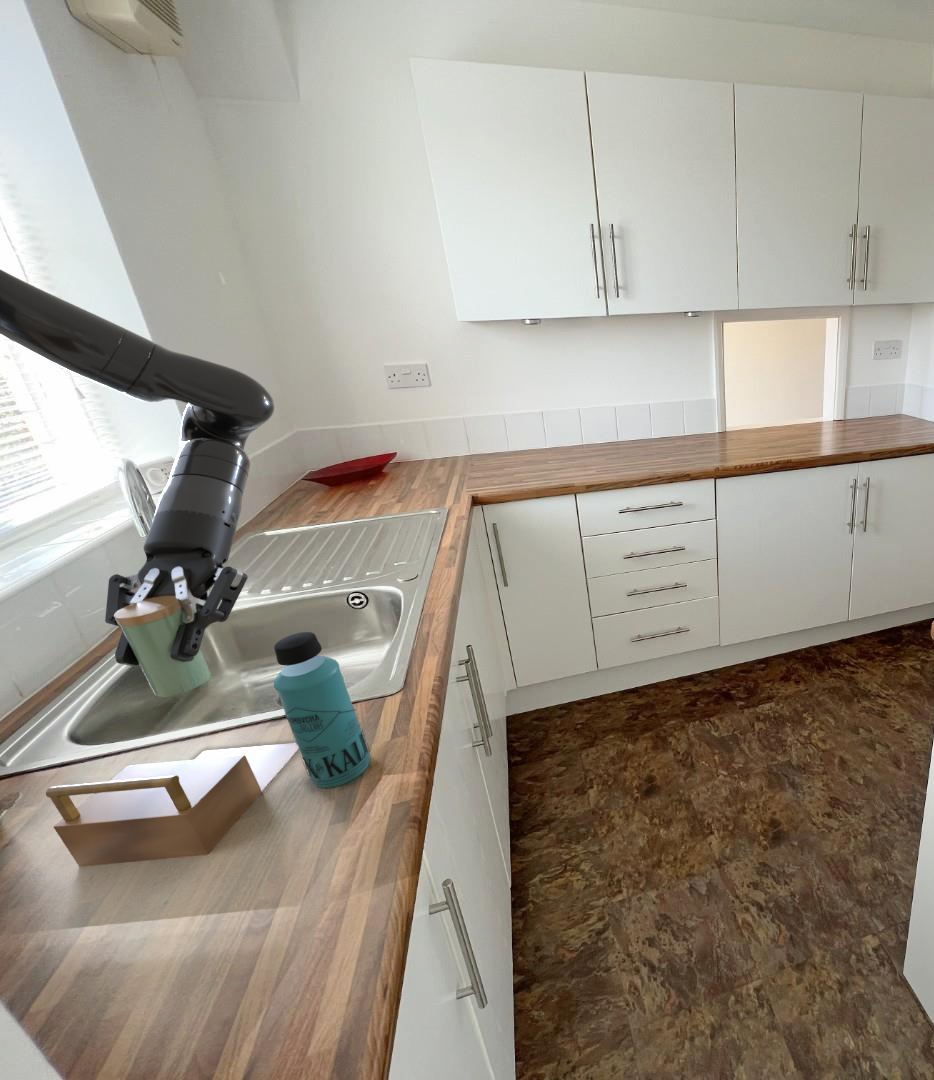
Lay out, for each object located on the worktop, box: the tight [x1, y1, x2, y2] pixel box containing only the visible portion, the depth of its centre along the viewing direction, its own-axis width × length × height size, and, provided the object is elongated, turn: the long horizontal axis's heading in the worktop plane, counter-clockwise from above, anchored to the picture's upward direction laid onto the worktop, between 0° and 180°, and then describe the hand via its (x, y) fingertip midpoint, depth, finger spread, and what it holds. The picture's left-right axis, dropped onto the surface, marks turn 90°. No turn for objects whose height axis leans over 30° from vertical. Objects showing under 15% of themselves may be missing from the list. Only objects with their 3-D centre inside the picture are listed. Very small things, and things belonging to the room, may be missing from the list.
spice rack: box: [45, 742, 300, 868], centre depth 67 cm, size 13×17×11 cm
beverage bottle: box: [273, 631, 372, 789], centre depth 68 cm, size 6×7×20 cm
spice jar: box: [114, 595, 212, 698], centre depth 65 cm, size 5×5×10 cm
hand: (154, 661), depth 63 cm, fingers closed on spice jar, 5 cm apart
